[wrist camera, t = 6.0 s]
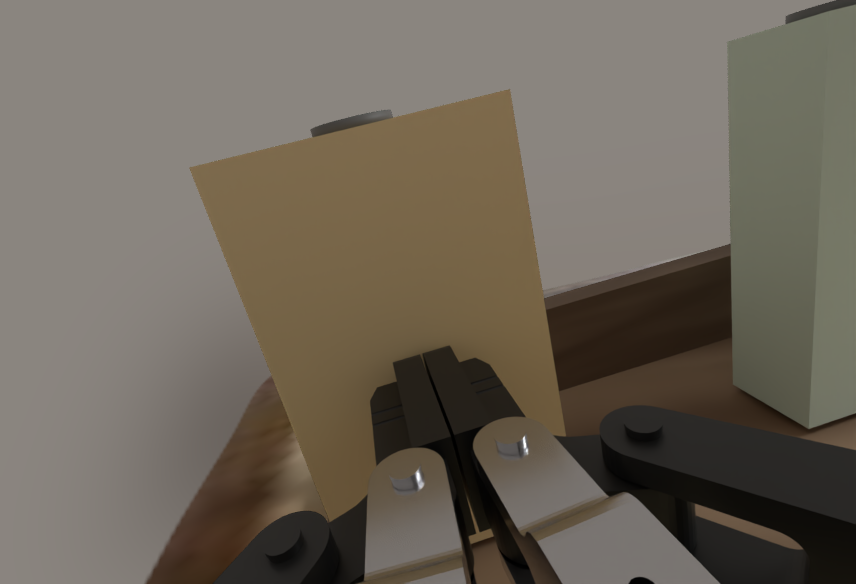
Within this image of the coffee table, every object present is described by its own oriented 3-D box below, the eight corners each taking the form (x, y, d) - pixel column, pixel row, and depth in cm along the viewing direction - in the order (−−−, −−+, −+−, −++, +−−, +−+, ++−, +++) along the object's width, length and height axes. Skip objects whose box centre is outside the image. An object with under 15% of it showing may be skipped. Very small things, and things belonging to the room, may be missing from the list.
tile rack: (1252, 494, 11) (1342, 297, 10) (335, 857, 9) (238, 687, 8) (802, 326, 23) (806, 221, 21) (341, 472, 21) (303, 368, 19)
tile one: (577, 507, 14) (507, 76, 10) (354, 584, 13) (184, 155, 9) (537, 447, 16) (472, 94, 13) (352, 507, 16) (222, 155, 12)
